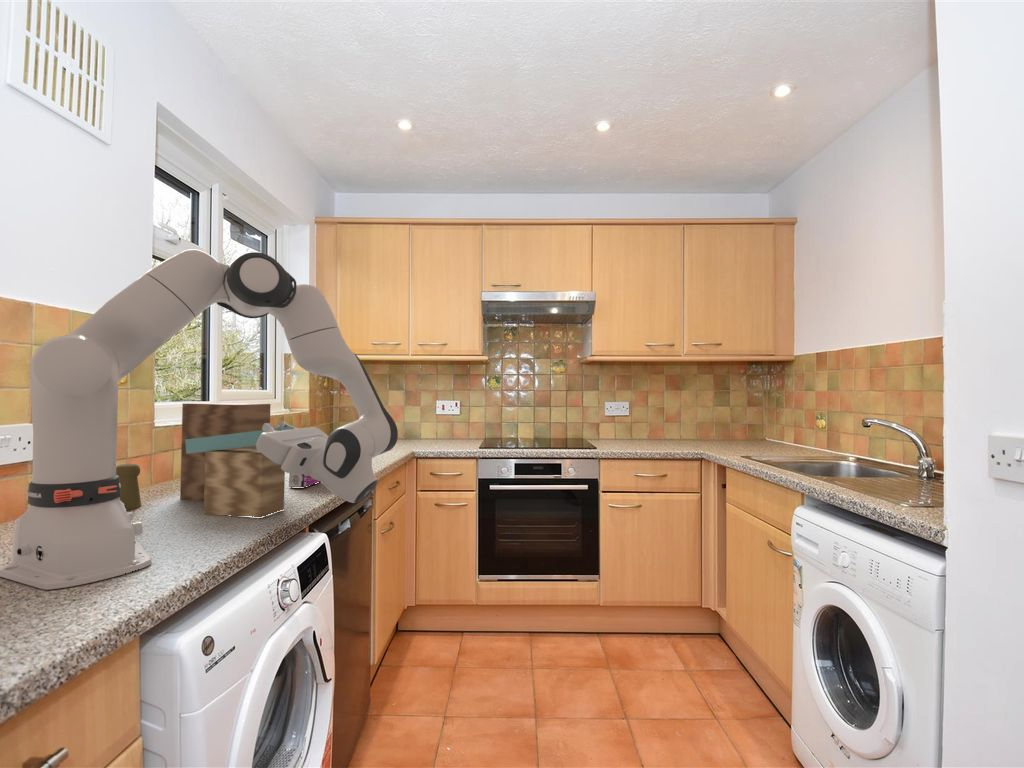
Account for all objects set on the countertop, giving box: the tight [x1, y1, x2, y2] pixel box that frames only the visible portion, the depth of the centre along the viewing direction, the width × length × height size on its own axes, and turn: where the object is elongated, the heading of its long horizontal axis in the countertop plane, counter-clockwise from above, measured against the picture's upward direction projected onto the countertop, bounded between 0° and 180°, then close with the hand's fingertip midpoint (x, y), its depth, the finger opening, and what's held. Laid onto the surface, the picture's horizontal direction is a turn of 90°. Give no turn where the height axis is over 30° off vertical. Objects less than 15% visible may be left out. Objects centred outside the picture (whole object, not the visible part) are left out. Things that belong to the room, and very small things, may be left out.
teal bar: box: [185, 427, 291, 454], centre depth 121 cm, size 26×4×4 cm, turn 81°
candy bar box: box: [288, 473, 320, 488], centre depth 155 cm, size 11×5×16 cm, turn 172°
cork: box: [116, 463, 142, 511], centre depth 123 cm, size 6×6×11 cm
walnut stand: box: [179, 402, 271, 502], centre depth 138 cm, size 18×12×26 cm, turn 77°
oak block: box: [203, 448, 286, 517], centre depth 121 cm, size 16×8×15 cm, turn 77°
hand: (272, 425), depth 119 cm, fingers closed on teal bar, 4 cm apart
